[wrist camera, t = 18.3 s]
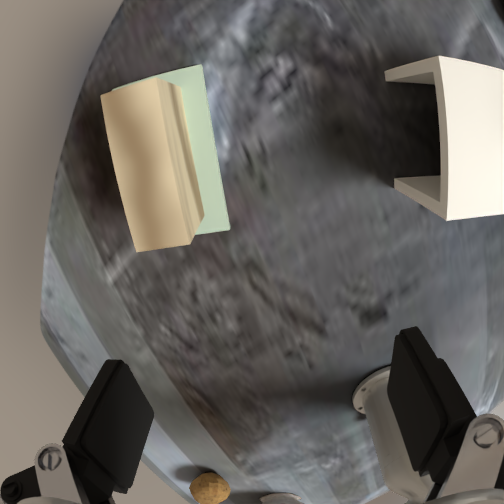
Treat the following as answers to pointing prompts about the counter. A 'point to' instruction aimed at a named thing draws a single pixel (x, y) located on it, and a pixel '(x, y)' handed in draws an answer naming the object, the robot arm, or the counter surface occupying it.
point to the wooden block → (153, 163)
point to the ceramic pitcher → (280, 499)
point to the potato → (209, 489)
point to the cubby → (461, 138)
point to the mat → (200, 145)
